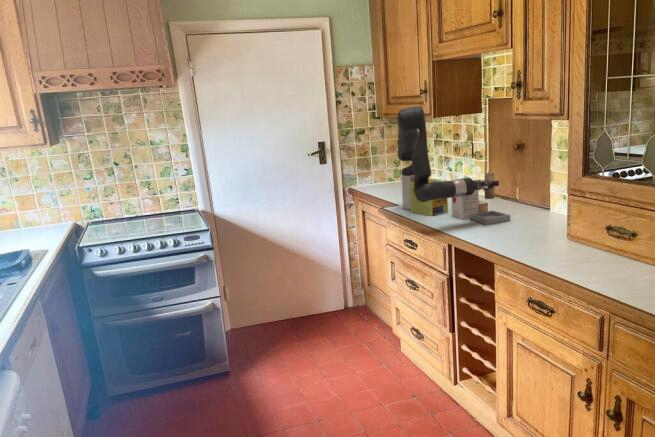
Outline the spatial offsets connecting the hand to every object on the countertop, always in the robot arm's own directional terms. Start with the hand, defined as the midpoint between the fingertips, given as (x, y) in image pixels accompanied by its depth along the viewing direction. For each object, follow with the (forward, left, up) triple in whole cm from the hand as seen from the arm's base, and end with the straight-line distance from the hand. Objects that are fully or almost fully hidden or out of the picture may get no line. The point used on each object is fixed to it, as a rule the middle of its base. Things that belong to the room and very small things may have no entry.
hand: (494, 182), depth 223 cm
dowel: (0, -3, -6) cm, 7 cm away
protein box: (-31, -15, -17) cm, 38 cm away
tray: (0, -3, -16) cm, 17 cm away
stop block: (-13, 0, -16) cm, 21 cm away
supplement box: (-13, -7, -17) cm, 22 cm away
